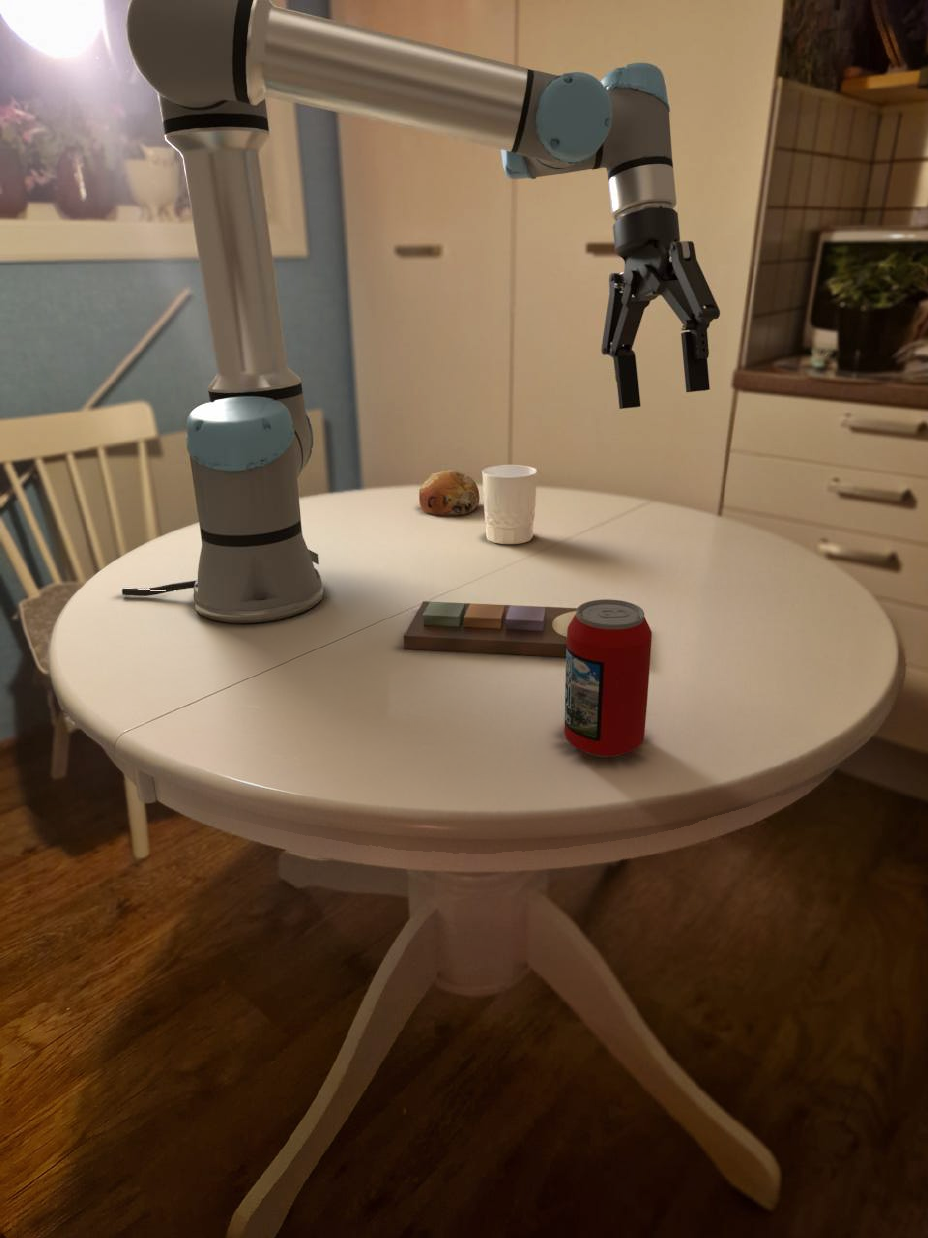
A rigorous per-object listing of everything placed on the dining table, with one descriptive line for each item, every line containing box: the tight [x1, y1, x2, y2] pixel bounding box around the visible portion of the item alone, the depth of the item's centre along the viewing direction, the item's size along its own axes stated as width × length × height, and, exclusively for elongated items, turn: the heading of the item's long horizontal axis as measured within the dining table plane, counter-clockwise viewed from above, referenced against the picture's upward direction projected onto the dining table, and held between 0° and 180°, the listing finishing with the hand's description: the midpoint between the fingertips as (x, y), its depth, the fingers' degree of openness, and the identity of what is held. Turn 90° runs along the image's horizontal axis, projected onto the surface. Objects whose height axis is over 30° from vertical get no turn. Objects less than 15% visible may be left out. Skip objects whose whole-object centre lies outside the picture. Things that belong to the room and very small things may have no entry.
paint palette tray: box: [403, 600, 578, 658], centre depth 94 cm, size 24×10×3 cm, turn 81°
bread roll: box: [418, 469, 481, 517], centre depth 142 cm, size 10×10×8 cm
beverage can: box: [563, 598, 653, 758], centre depth 71 cm, size 7×7×12 cm
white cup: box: [481, 464, 538, 545], centre depth 125 cm, size 8×8×10 cm
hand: (662, 400), depth 104 cm, fingers open, 13 cm apart
